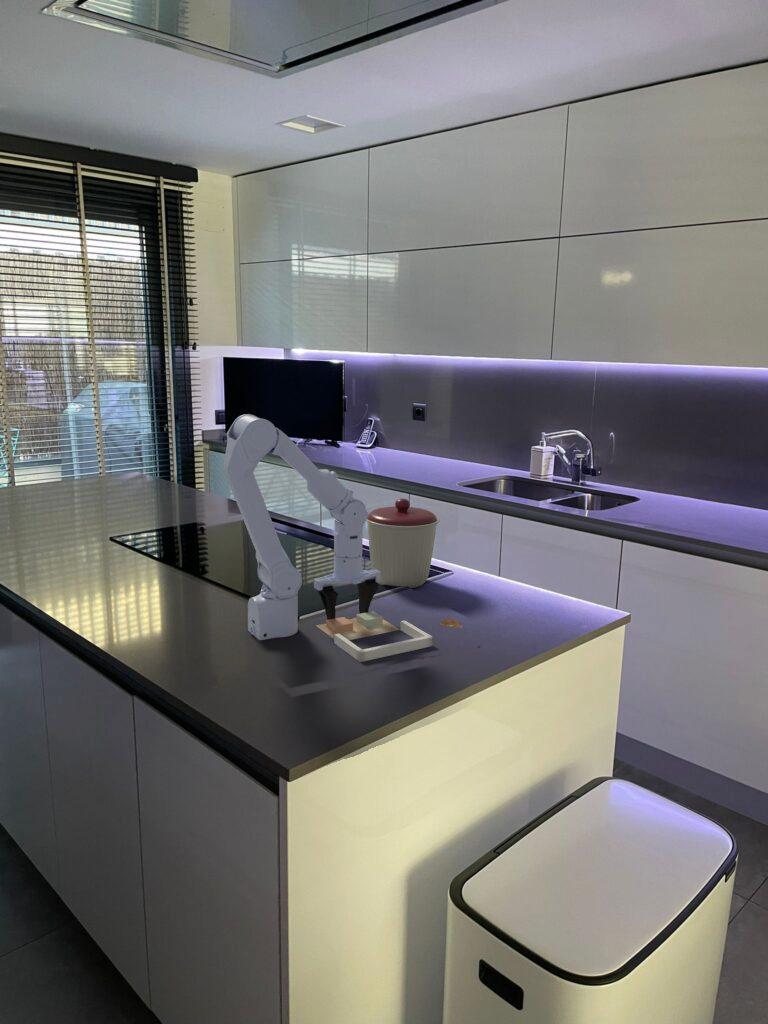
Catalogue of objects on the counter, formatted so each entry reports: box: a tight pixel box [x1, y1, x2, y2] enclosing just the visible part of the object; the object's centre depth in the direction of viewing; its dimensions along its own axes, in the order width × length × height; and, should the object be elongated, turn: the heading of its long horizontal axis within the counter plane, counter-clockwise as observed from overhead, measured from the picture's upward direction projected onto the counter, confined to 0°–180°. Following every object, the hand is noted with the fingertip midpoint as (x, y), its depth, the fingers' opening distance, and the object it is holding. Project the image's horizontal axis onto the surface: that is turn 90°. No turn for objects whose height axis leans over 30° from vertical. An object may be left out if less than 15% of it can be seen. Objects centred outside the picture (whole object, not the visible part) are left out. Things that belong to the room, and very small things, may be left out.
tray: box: [333, 619, 434, 663], centre depth 148 cm, size 16×10×3 cm, turn 121°
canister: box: [365, 498, 441, 589], centre depth 188 cm, size 18×18×21 cm
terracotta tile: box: [325, 616, 353, 634], centre depth 156 cm, size 4×4×2 cm
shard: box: [439, 617, 463, 629], centre depth 164 cm, size 11×8×2 cm
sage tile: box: [355, 610, 384, 627], centre depth 159 cm, size 4×4×2 cm
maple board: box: [315, 617, 401, 641], centre depth 157 cm, size 14×10×1 cm
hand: (347, 617), depth 160 cm, fingers open, 7 cm apart
